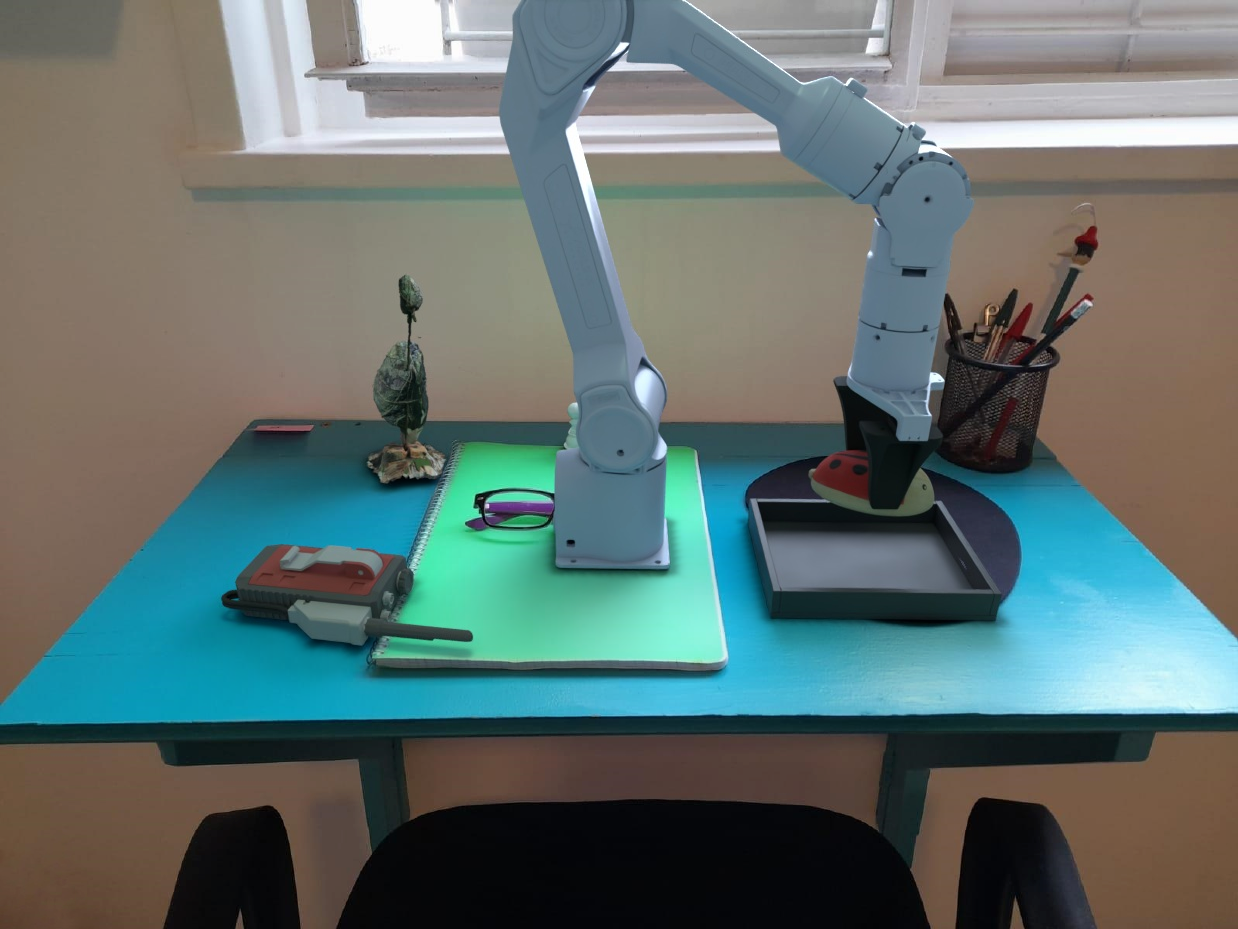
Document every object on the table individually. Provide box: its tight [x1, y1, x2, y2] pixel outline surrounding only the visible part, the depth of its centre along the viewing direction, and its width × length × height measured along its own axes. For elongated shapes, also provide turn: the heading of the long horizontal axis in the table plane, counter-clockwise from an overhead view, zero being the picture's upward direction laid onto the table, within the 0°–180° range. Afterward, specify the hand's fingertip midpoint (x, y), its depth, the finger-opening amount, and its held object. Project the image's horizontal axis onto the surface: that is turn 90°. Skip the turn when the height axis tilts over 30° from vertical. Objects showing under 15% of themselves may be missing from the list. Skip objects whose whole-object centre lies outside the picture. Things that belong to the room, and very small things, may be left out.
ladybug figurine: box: [808, 450, 935, 516], centre depth 69 cm, size 7×10×4 cm
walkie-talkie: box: [220, 543, 474, 646], centre depth 66 cm, size 9×4×20 cm
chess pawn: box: [563, 401, 579, 450], centre depth 91 cm, size 3×3×5 cm
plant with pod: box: [366, 273, 447, 484], centre depth 84 cm, size 8×11×20 cm
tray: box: [747, 498, 1003, 622], centre depth 72 cm, size 17×14×2 cm
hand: (871, 484), depth 69 cm, fingers closed on ladybug figurine, 7 cm apart
